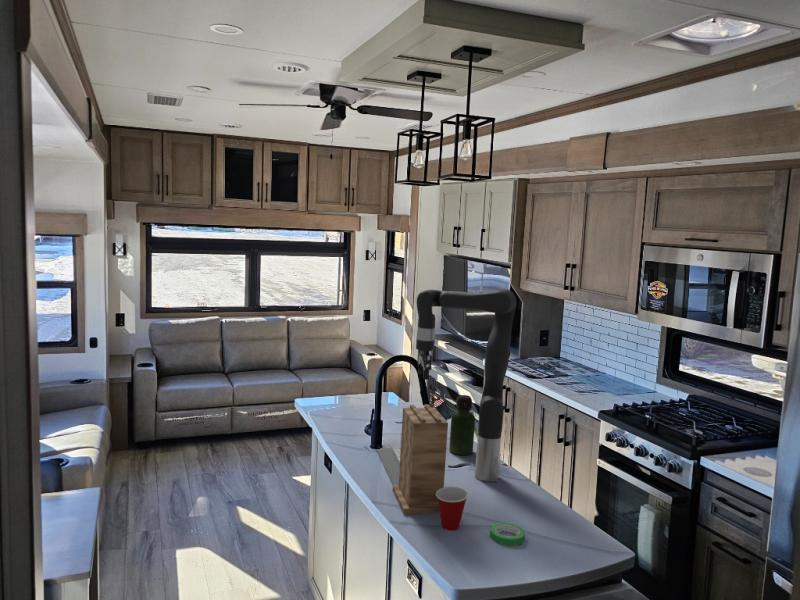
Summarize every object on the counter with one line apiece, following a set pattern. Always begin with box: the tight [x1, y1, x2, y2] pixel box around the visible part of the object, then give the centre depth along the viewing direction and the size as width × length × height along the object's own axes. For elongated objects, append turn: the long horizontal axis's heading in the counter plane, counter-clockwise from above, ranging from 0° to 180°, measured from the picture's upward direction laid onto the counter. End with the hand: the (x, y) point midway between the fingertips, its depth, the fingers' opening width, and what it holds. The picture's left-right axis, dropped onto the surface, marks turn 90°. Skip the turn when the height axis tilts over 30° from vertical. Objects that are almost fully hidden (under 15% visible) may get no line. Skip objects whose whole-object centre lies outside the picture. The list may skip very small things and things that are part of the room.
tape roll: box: [489, 522, 526, 547], centre depth 215 cm, size 11×11×3 cm
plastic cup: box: [436, 486, 469, 532], centre depth 219 cm, size 11×11×12 cm
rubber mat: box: [376, 447, 401, 486], centre depth 270 cm, size 42×14×1 cm, turn 12°
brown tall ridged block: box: [392, 404, 449, 515], centre depth 237 cm, size 20×16×33 cm
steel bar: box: [391, 447, 401, 469], centre depth 268 cm, size 28×3×3 cm, turn 12°
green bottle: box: [448, 394, 476, 456], centre depth 290 cm, size 10×10×25 cm
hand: (423, 376), depth 274 cm, fingers open, 8 cm apart
